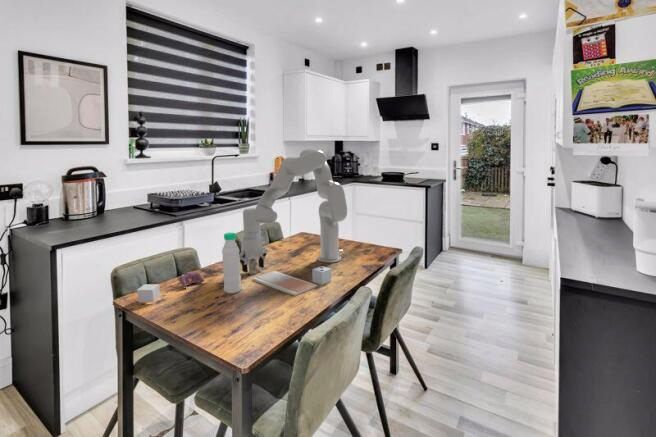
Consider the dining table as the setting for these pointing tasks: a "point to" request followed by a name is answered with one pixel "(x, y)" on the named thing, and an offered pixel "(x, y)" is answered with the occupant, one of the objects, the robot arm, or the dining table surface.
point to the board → (285, 283)
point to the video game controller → (193, 274)
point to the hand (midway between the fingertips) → (253, 269)
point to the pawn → (253, 266)
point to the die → (321, 275)
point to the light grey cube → (148, 293)
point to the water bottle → (231, 264)
